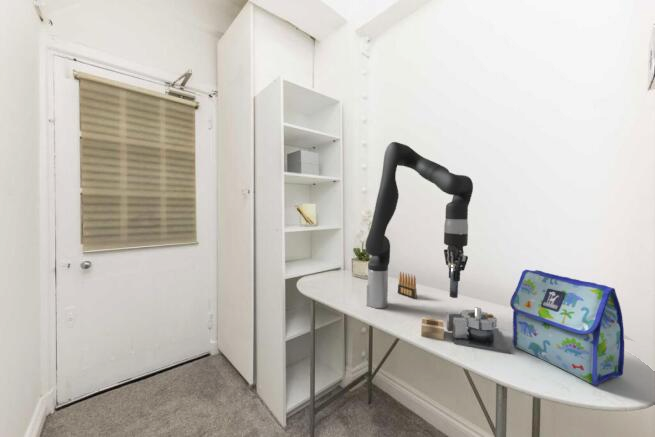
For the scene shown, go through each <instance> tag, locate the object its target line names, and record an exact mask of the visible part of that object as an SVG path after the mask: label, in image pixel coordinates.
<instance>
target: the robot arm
mask: <svg viewBox="0 0 655 437" xmlns="http://www.w3.org/2000/svg"><path fill="white" fill-rule="evenodd" d="M382 165H383V166H382V173H381V180H380V183H379V189H378V193H377V197H376V200H375V201H376V202H375V207H374V211H373V215H372V216H373V217H372V220H371V224H370V228H369V232H368V235H367V238H366V239H365V240H366V241H365V250H366V252H367V254H369V255H370V256H371V258H370V259H369V261H368V263H367V264H368V265H367V285H366V306H369V307H370V308H374V309H385V308H387V307H388V293H389V292H388V291H389V290H388V288H389V287H388V285H389V283H388V281H389V280H388V279H389V277H388V276H389V274H388V273H389V265H390V259H391V257H390V256H391V242H390V239H389V238H388V236H386V231H387V227H388V225H389V224H390V222H391V220H392V218H393V216H394V214H395V212H396V209H397V206H398V202H399V190H398V185H397V180H396V175H397V174H396V173H397V169H398V166H401V167H405V168H409V169H412V170H414V171H415V172H417V173H418V175H419V176H421V178H423V179H425V180H426V181H428V182H430V183H432V184H433V185H435V186H436V187H437V188H438V189H440V190H441V191H442V192H443V193H445V194H446V195H451V196H452V199H451V201H450V202H447V203H446V205H445V219H444V220H445V221H444V226H443V228H444V230H443V244H444V245H445V246H447V249H443V255H444V260H445V265H446V266H447V268H448V278H449V279H450V271H451V268H450V267H451V263H452V264H453V281H458V282H460V280H461V272H462V271H463V272H464V271H465V268H466V266H467V263H468V259H469V256H468V255H465V254H464V252H465V251H464V247H467V246H468V240H469V234H468V233H469V222H468V215H469V213H468V212H469V210H468V209H469V205H470V202H471V199H472V195H473V191H474V185H473V184H474V183H473V181H472V179H471V177H469V176H468V175H462V174H455V173H452V172H450V171H449V169H448V168H447V167H445V166H444V165H441V164H440V163H437V162H436V161H434V160H433V161H432V160H430V159H428V158H426V157H423V156H422V155H421V154H419V153H418V152H417V151H416V150H414V149H412V148H411V147H410V146H408V145H407V144H404V143H400V142H397V141H393V142H390V143H389V144H388V145H387V147H386V149H385V151H384V156H383V164H382ZM456 264H457V265H456Z"/></svg>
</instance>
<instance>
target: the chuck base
mask: <svg viewBox="0 0 655 437" xmlns="http://www.w3.org/2000/svg"><path fill="white" fill-rule="evenodd" d="M474 310H475V319H479V320H481V311H482V308H481V307H474ZM451 332H452V334H453V331H451ZM452 337H453V338H452V339H453V344H454V345H459V346H465V347H470V348H476V349H481V350H487V351H493V352H497V353H504V354H511V349H510V347H509V346H508V344H507V342H506V340H505V338H504V336H503V335H502V333H501V331H500V330H499V328H497V327H496V328H495V329H492V330H481V329H475V328H472V327H469V326H467V338H455V337H454V336H453V335H452Z"/></svg>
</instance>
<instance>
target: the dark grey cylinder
mask: <svg viewBox="0 0 655 437" xmlns="http://www.w3.org/2000/svg"><path fill="white" fill-rule="evenodd" d="M456 265H457V264H456ZM450 268H451V271H450V278H449V297H450V298H452V299H458V295H459V281H453V264H452V263H451V267H450Z"/></svg>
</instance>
